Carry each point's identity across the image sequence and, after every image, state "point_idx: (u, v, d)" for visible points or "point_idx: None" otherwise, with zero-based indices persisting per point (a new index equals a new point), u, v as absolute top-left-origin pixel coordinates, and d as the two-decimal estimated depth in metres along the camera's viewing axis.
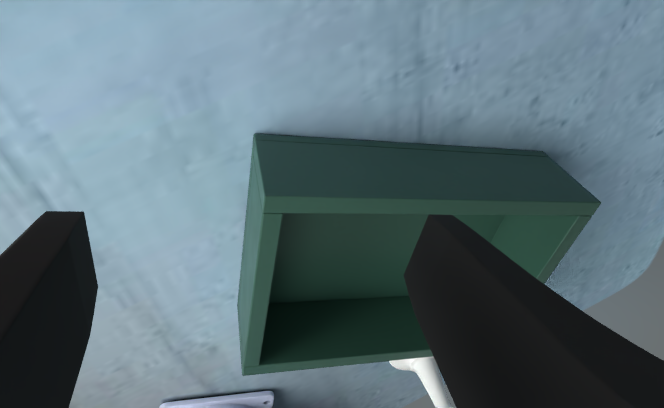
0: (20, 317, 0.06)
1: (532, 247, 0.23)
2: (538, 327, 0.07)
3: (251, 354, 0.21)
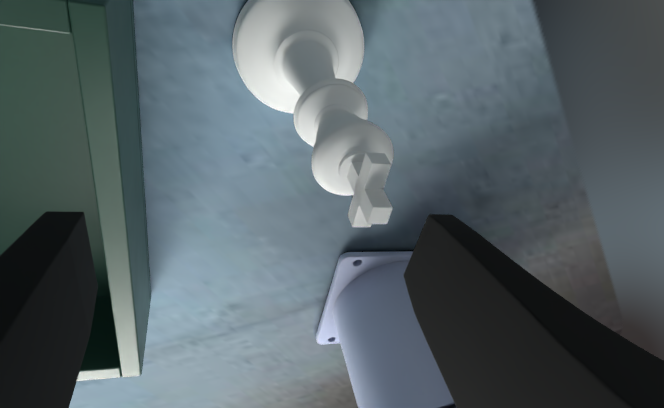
0: (20, 317, 0.06)
1: None
2: (538, 327, 0.07)
3: (93, 376, 0.18)
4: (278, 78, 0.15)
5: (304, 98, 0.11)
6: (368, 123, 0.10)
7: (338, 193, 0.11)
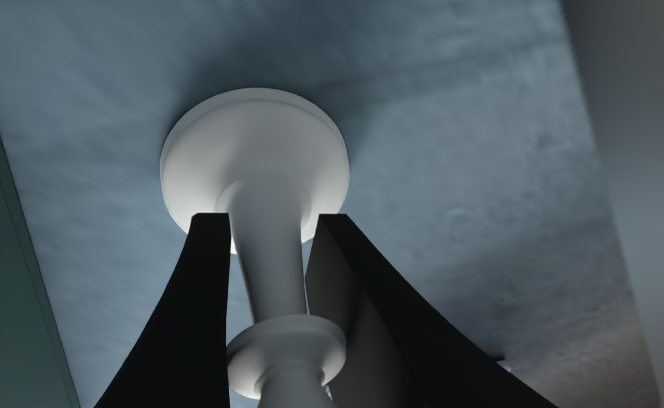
0: (225, 306, 0.06)
1: None
2: (390, 340, 0.06)
3: None
4: None
5: (236, 348, 0.07)
6: None
7: None
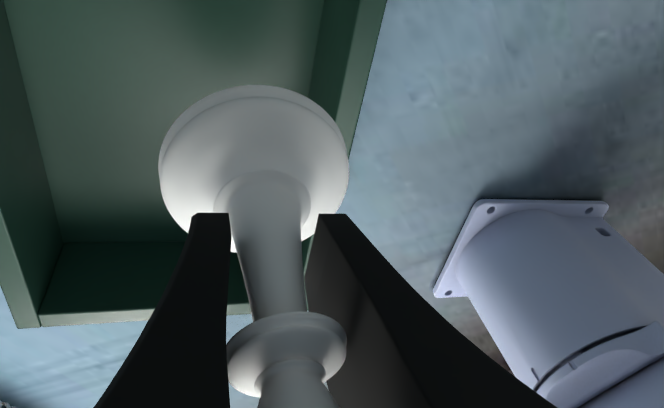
0: (225, 306, 0.06)
1: None
2: (389, 340, 0.06)
3: None
4: None
5: (236, 345, 0.07)
6: None
7: None
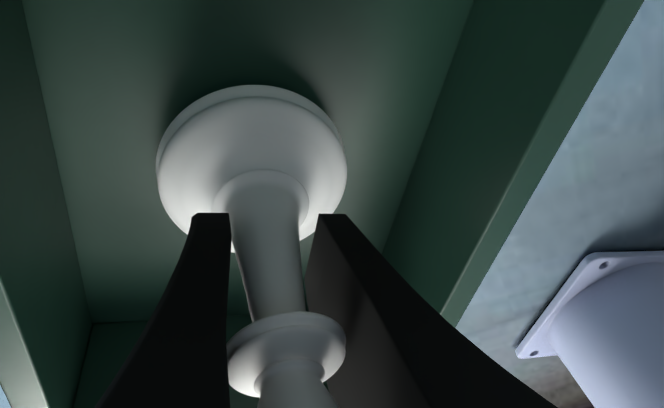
0: (225, 306, 0.06)
1: None
2: (389, 340, 0.06)
3: None
4: None
5: (235, 346, 0.07)
6: None
7: None
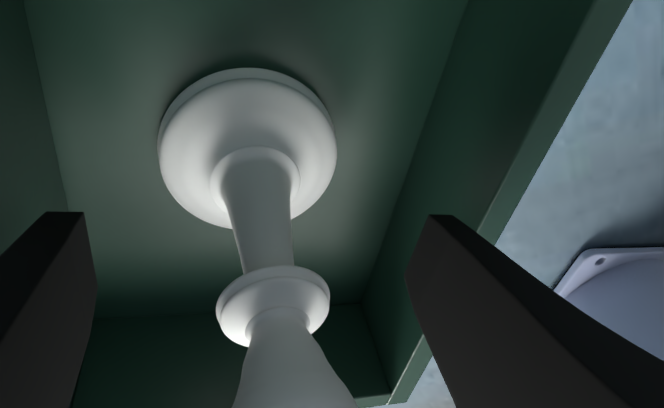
0: (20, 317, 0.06)
1: None
2: (538, 327, 0.07)
3: (360, 405, 0.15)
4: (217, 204, 0.11)
5: (228, 295, 0.07)
6: (315, 396, 0.06)
7: None
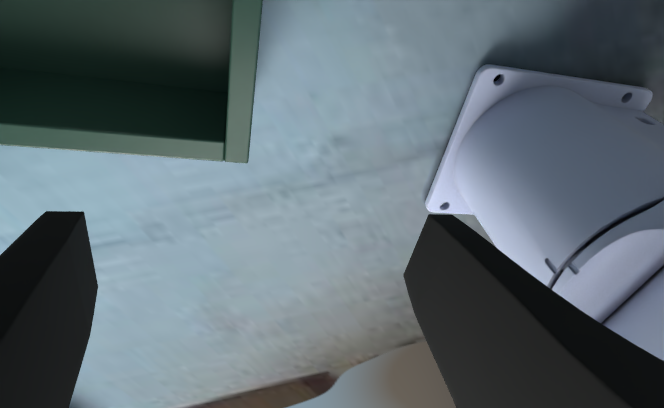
0: (20, 317, 0.06)
1: None
2: (538, 327, 0.07)
3: (190, 151, 0.14)
4: None
5: None
6: None
7: None
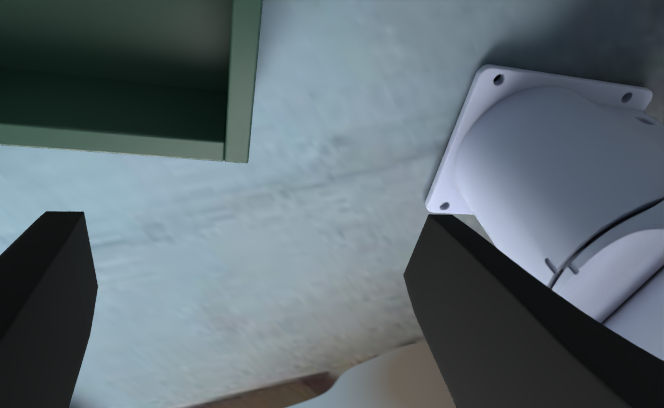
0: (20, 317, 0.06)
1: None
2: (538, 327, 0.07)
3: (190, 151, 0.14)
4: None
5: None
6: None
7: None
